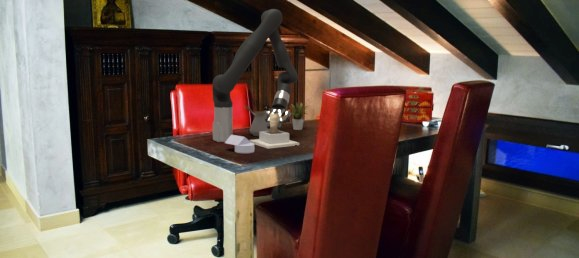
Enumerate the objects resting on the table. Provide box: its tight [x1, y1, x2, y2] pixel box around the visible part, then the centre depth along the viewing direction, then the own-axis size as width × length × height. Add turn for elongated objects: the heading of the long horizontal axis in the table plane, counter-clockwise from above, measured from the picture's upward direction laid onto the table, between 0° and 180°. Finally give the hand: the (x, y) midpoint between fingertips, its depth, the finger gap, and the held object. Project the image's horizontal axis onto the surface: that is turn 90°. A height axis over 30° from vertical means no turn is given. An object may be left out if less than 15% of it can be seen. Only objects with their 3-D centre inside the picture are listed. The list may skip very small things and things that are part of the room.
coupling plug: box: [269, 113, 280, 134], centre depth 245 cm, size 6×5×12 cm
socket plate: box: [248, 130, 300, 150], centre depth 246 cm, size 18×18×6 cm
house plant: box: [290, 102, 310, 131], centre depth 290 cm, size 14×14×16 cm
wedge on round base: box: [224, 134, 255, 154], centre depth 228 cm, size 9×7×13 cm
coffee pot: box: [244, 105, 270, 137], centre depth 273 cm, size 21×12×15 cm, turn 37°
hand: (273, 128), depth 243 cm, fingers closed on coupling plug, 4 cm apart
